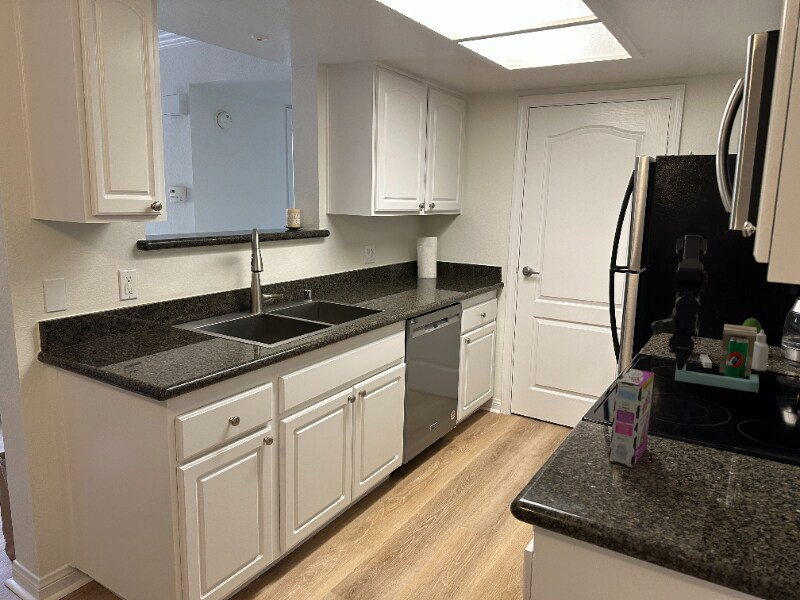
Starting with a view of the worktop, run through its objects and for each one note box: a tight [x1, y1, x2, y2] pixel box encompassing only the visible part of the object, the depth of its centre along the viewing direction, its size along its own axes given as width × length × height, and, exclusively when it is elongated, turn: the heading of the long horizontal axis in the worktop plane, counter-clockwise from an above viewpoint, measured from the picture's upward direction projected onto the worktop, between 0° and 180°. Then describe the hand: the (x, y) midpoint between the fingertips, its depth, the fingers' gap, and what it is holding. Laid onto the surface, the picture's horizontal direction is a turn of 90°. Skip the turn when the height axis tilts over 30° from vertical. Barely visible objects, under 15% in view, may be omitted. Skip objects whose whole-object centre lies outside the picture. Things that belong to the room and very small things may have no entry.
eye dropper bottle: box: [751, 329, 770, 372], centre depth 176 cm, size 4×6×12 cm
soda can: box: [724, 336, 749, 379], centre depth 166 cm, size 5×5×12 cm
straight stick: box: [699, 353, 713, 369], centre depth 182 cm, size 10×2×2 cm, turn 161°
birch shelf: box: [718, 323, 757, 378], centre depth 166 cm, size 8×8×14 cm
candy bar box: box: [608, 368, 655, 469], centre depth 114 cm, size 11×5×16 cm, turn 145°
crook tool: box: [674, 362, 760, 393], centre depth 163 cm, size 9×20×8 cm, turn 60°
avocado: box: [741, 317, 763, 341], centre depth 194 cm, size 8×8×12 cm
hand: (681, 365), depth 164 cm, fingers open, 9 cm apart
